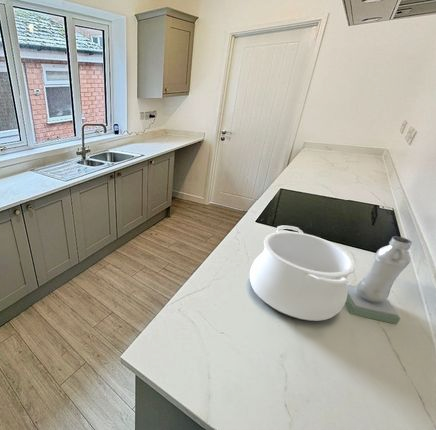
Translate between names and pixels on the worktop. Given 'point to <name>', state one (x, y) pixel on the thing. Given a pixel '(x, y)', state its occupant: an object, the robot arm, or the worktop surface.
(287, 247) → the pot
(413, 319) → the worktop surface
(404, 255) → the plastic bottle
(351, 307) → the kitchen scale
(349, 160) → the worktop surface
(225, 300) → the worktop surface
